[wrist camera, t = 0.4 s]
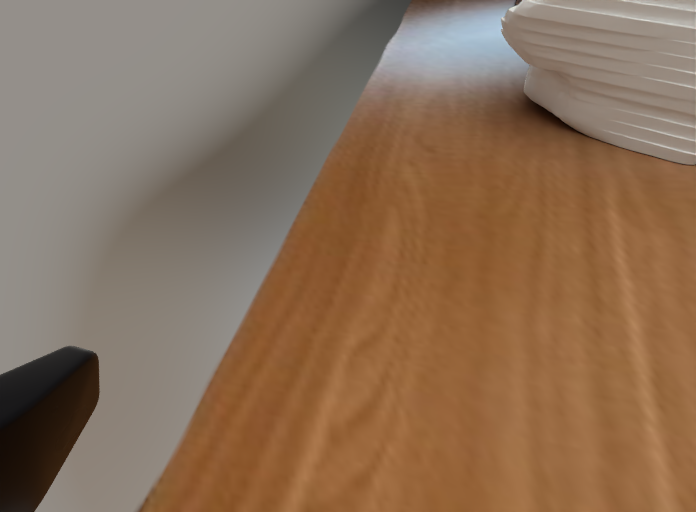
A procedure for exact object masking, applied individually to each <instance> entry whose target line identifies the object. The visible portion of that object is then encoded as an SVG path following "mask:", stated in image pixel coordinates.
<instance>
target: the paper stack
mask: <svg viewBox="0 0 696 512" xmlns="http://www.w3.org/2000/svg"><path fill="white" fill-rule="evenodd" d="M501 22H502V27H503V29H501V32H502V35H503V36H504V38H505V39H506V41H507V42H508V44H509V45H510V46H511V47H512V48H513V49H514V50H515V52H516V53H517V54H518V55H519V56H520V57H521V58H522V59H523V60H524V61H525V62H526V63H528V64H530V65H529V69H528V72H527V77H526V79H525V85H524V93H525V94H526V95H527V96H528V97H529V98H530V99H531V100H532V101H534V102H535V103H537V104H538V105H540V106H542V107H544V108H545V109H547V110H548V111H549V112H551V113H553V114H554V115H555V116H557V117H558V118H560V119H561V121H563V122H564V123H566V124H568V125H569V126H571V127H572V128H574V129H575V130H577V131H579V132H581V133H583V134H585V135H587V136H589V137H593V138H595V139H599V140H601V141H603V142H607V143H610V144H613V145H616V146H619V147H622V148H625V149H629V150H632V151H636V152H640V153H643V154H647V155H651V156H655V157H658V158H662V159H665V160H669V161H673V162H677V163H681V164H688V165H695V164H696V0H522V1H521V2H520V3H519V5H517V6H514V7H511V8H510V9H509V10H508V11H507V13H506V15H505V17H503V18H501Z"/></svg>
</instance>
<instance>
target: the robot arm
mask: <svg viewBox="0 0 696 512" xmlns="http://www.w3.org/2000/svg"><path fill="white" fill-rule="evenodd" d="M98 398H99V360H98V356H97V354H96V353H94V352H93V351H89V350H86V349H82V348H79V347H75V346H67V347H64V348H61V349H59V350H57V351H54V352H52V353H50V354H47V355H45V356H43V357H40V358H38V359H36V360H33V361H31V362H29V363H26V364H24V365H22V366H20V367H17V368H15V369H13V370H10V371H8V372H6V373H3V374H1V375H0V512H34V511H35V510H36V508H37V507H38V505H39V504H40V503H41V501H42V499H43V498H44V496H45V494H46V493H47V491H48V489H49V488H50V486H51V485H52V483H53V481H54V479H55V477H56V476H57V474H58V472H59V471H60V469H61V467H62V465H63V463H64V462H65V460H66V458H67V457H68V455H69V453H70V451H71V450H72V448H73V446H74V444H75V443H76V441H77V439H78V437H79V436H80V434H81V432H82V430H83V429H84V427H85V425H86V423H87V422H88V420H89V418H90V416H91V415H92V413H93V411H94V409H95V407H96V405H97V402H98Z"/></svg>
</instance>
